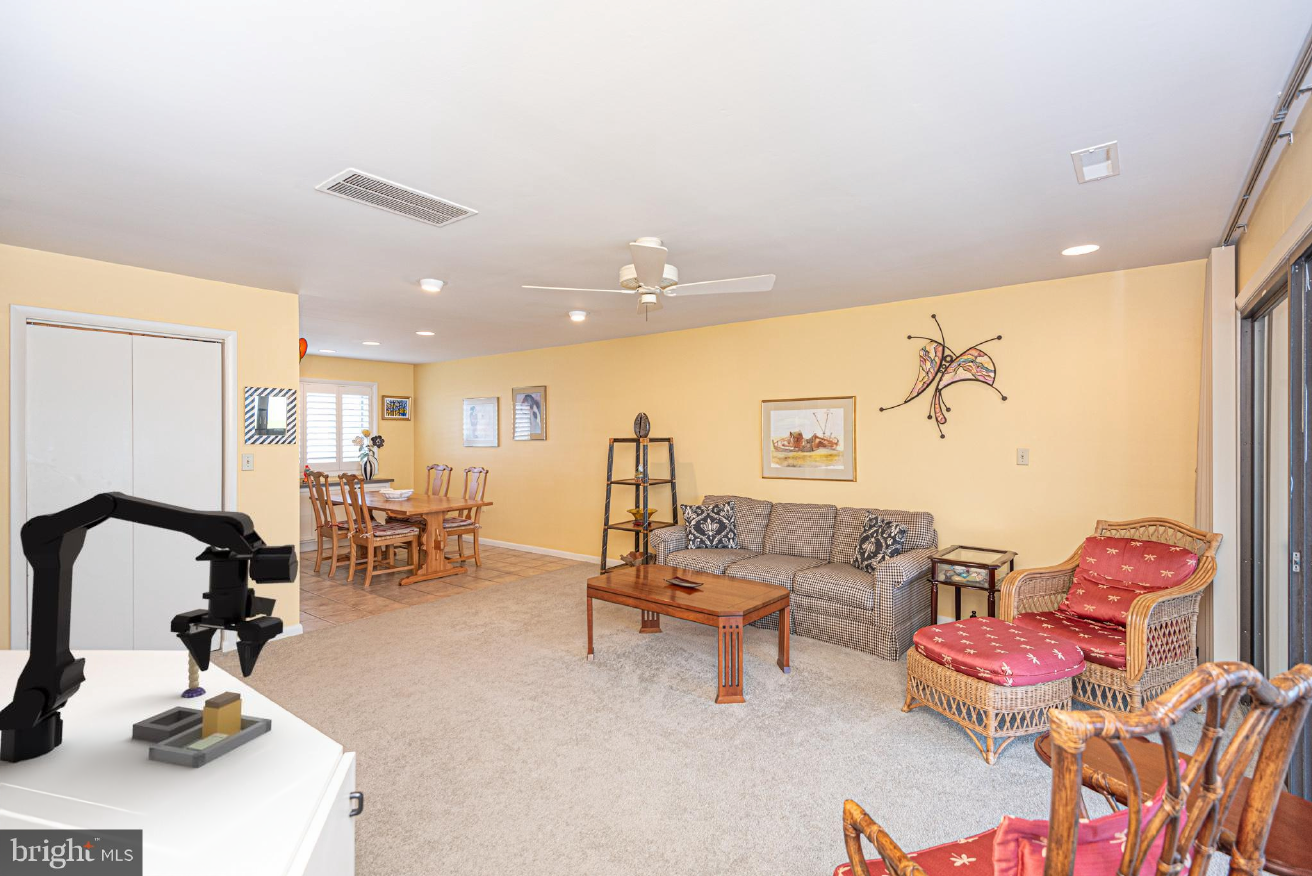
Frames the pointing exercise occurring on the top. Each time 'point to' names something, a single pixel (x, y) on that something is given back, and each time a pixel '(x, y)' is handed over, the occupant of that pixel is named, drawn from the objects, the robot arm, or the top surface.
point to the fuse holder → (167, 724)
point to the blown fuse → (222, 715)
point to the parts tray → (175, 754)
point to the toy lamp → (193, 680)
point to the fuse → (207, 742)
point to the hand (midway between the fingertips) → (225, 673)
